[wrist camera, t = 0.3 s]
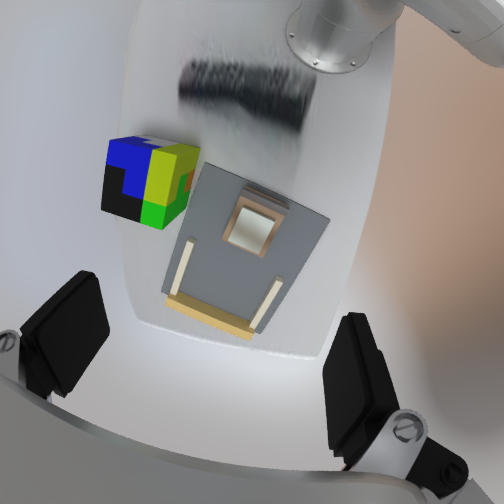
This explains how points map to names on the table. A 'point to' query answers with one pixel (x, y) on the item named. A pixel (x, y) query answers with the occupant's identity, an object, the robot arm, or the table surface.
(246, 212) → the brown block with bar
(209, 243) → the mat
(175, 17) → the table surface
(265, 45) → the table surface
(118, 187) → the puzzle toy
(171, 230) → the table surface
